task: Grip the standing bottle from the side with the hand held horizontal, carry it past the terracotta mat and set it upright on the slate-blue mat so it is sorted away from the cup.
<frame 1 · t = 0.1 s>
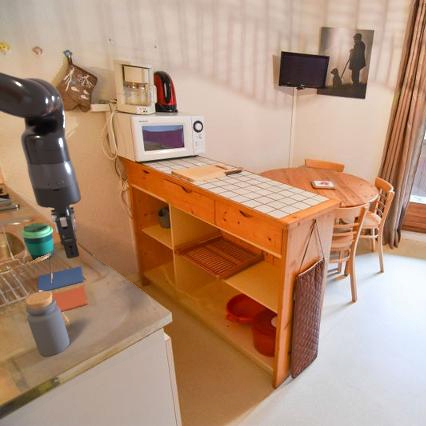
hand: (72, 248, 73), 25 cm above the countertop, tool pointing down, fingers open, 8 cm apart
bottle: (55, 347, 77), on the countertop
cup: (45, 257, 112), on the countertop
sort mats: (60, 279, 101), on the countertop
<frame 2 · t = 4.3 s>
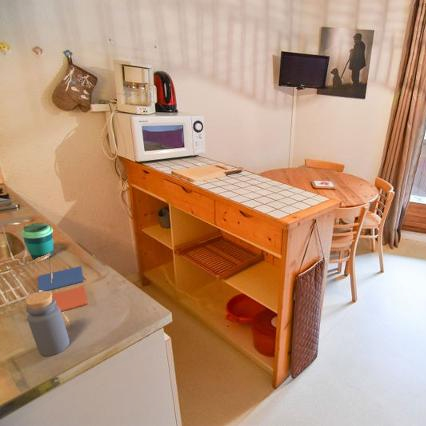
nothing on the countertop moved.
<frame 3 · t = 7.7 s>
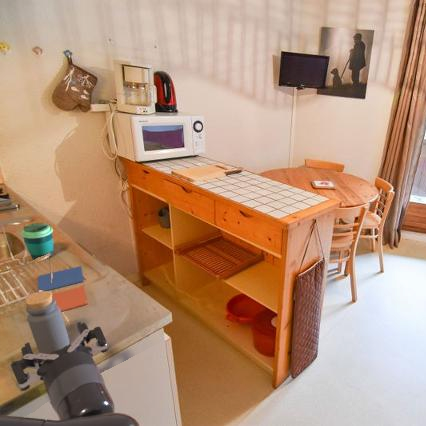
hand: (54, 335, 67), 11 cm above the countertop, tool horizontal, fingers open, 8 cm apart
nothing on the countertop moved.
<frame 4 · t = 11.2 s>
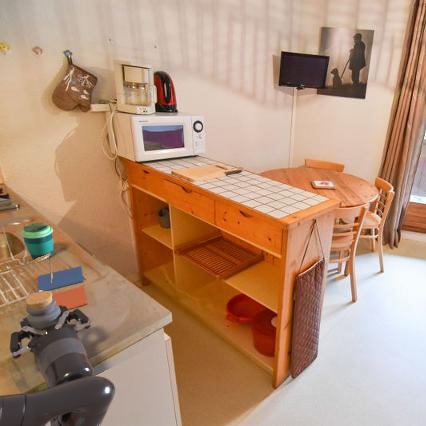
hand: (43, 314, 75), 8 cm above the countertop, tool horizontal, fingers closed on bottle, 6 cm apart
bottle: (55, 347, 77), on the countertop, touching gripper
everything else where it was.
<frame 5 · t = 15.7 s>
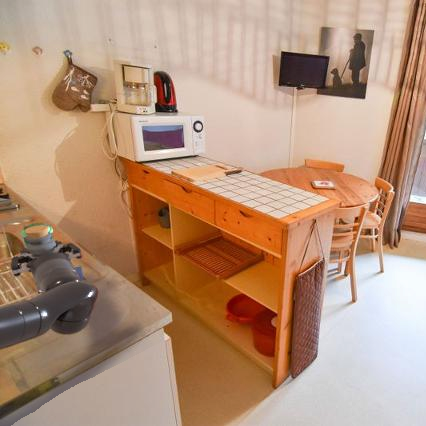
hand: (40, 247, 85), 18 cm above the countertop, tool horizontal, fingers closed on bottle, 6 cm apart
bottle: (51, 278, 87), point 9 cm above the countertop, touching gripper
everything else where it was.
when the fingers open (9 cm above the countertop, at t = 20.6 s): bottle stays where it is, resting on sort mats.
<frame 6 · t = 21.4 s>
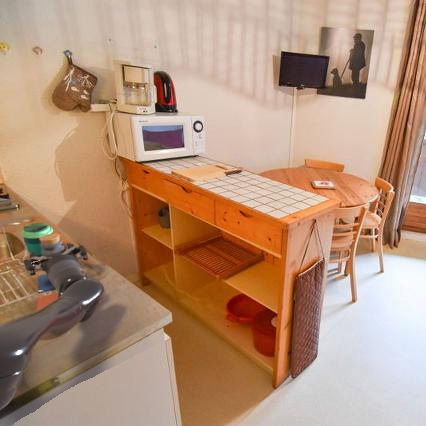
hand: (51, 250, 98), 10 cm above the countertop, tool horizontal, fingers open, 8 cm apart
bottle: (61, 278, 101), resting on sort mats
everything else where it was.
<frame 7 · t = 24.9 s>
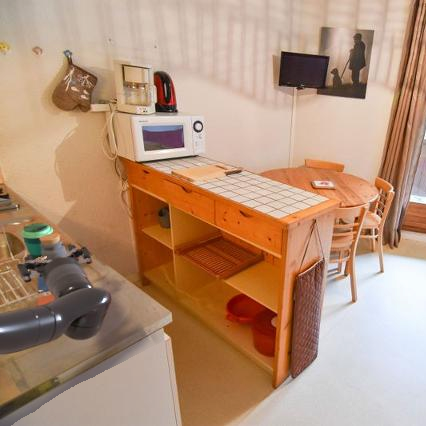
hand: (50, 252, 86), 16 cm above the countertop, tool horizontal, fingers open, 8 cm apart
nothing on the countertop moved.
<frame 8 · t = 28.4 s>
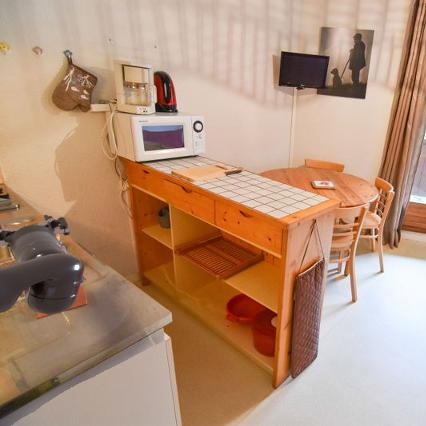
hand: (23, 222, 76), 28 cm above the countertop, tool horizontal, fingers open, 8 cm apart
nothing on the countertop moved.
at the end: bottle inside the target area on the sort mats (0.2 cm from its centre), point 0.2 cm above the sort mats's base; bottle tilted 0° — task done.
